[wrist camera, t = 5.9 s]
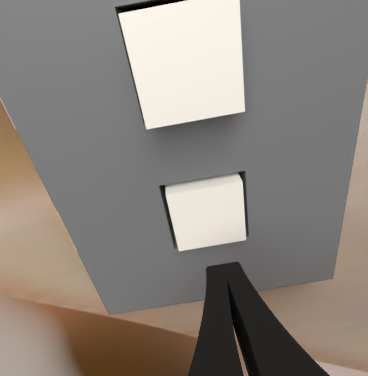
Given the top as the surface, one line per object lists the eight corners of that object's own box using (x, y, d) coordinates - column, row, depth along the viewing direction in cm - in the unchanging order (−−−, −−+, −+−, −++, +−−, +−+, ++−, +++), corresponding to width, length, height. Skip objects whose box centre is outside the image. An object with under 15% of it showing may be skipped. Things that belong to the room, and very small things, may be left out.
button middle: (224, -4, 11) (239, -10, 9) (231, 97, 13) (245, 111, 11) (126, 14, 11) (118, 13, 9) (149, 111, 13) (146, 129, 11)
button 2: (232, 160, 16) (242, 181, 14) (236, 214, 18) (246, 240, 16) (165, 172, 16) (165, 195, 14) (177, 224, 19) (178, 251, 16)
